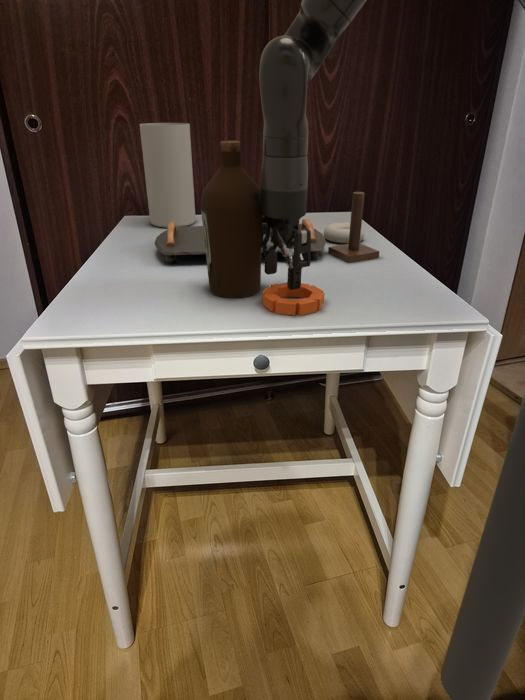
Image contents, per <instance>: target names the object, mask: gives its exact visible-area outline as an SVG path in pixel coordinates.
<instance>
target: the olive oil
mask: <svg viewBox="0 0 525 700" xmlns="http://www.w3.org/2000/svg"><path fill="white" fill-rule="evenodd" d="M219 143H220V145H219V146H220V151H219V156H220V165H219V168H218V170H217V171H216V172H215V174H214V175H213V176H212V177H211V178H210V179H209V180H208V182H207V184H206V185H205V186H204V188H203V190H202V194H201V198H200V213H201V221H202V222H201V223H202V226H203V231H204V240H205V249H206V254H205V259H206V267H207V268H206V269H207V277H208V278H207V279H208V286H209V287H208V288H209V291H210V293H211V294H213V295H215V296H218V297H221V298H229V299H230V298H231V299H240V298H246V297H250V296H254V295H255V294H257V293H259V291H260V290H261V283H262V253H261V251H262V228H263V215H262V213H261V187H259V185H258V184H257V183H256V181H254V179H253V178H252V177H251V176H250V175H249V174H248V172H247V171H246V170H245V169H244V168H243V166H242V150H241V141H239V140H221V141H220V142H219Z"/></svg>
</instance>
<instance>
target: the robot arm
mask: <svg viewBox="0 0 525 700" xmlns="http://www.w3.org/2000/svg"><path fill="white" fill-rule="evenodd" d="M367 1H368V0H301V4H300V9H299V12H298V13H297V14H296V17H295V18H294V20H293V21H292V23H291V24H290V26H289V27H288V28H287V31H286V32H285V33H284V34H283V35H279V36H277V37H274V38H273V39H271V40H270V41H269V42H268V43H267V44H266V45H265V47H264V48H263V51H262V53H261V55H260V60H259V70H258V80H259V82H258V83H259V94H260V103H261V111H262V118H263V120H262V121H263V127H262V160H261V168H260V191H261V213H262V215H263V228H262V251H263V254H264V273H265V274H266V275H275V274H276V273H277V272H278V252H276V251H277V250H278V248H279V249H281V252H280V253H281V255H282V257H284V258H285V260H286V263H287V267H288V268H287V281H286V282H287V287H288V288H289V289H290V290H294V289H299V288H300V286H301V283H302V270H303V268H309V267H310V266H311V258H310V257H311V231H310V230H309V229H307V230H301V229H300V225H299V224H300V220H301V219H302V218H303V217H305V216H306V214H307V209H308V208H307V207H308V190H309V189H308V188H309V159H308V158H309V156H308V155H309V136H310V135H309V131H310V130H309V129H310V127H309V119H308V117H307V99H308V98H307V96H308V85H309V83H310V82H311V81H312V80H313V78H314V76H315V75H316V74H317V73H318V71H319V69H320V68H321V66H323V63H324V61H325V60H326V58H327V57H328V55H329V53H330V52H331V50H332V48H333V47H334V45H335V43H336V41H337V40H338V39H339V37H341V35H342V34H343V33H344V32H345V31H346V29H347V28H348V27H349V25H350V24H351V23H352V21H353V20H355V17H356V16H357V15H358V13H359V12H360V11H361V9H362V8H363V7H364V5H365V4H366V3H367ZM518 2H519V4H520V5H521V7H522V9H523V11H525V0H518ZM264 234H266V235H265V238H264V240H263V236H264ZM293 247H294V249H292V248H293Z"/></svg>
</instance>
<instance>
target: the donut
mask: <svg viewBox="0 0 525 700" xmlns="http://www.w3.org/2000/svg"><path fill="white" fill-rule="evenodd" d="M349 233H350V222H333V223H330V224H327V225H326V226H325V227H324V229H323V235H324V237H325V240H327V241H329V242H332V243H335V244H349ZM365 235H366V234H365V229H364V228H363V227H362V226H361V235H360V241H362V240H363V239H364V237H365Z"/></svg>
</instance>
